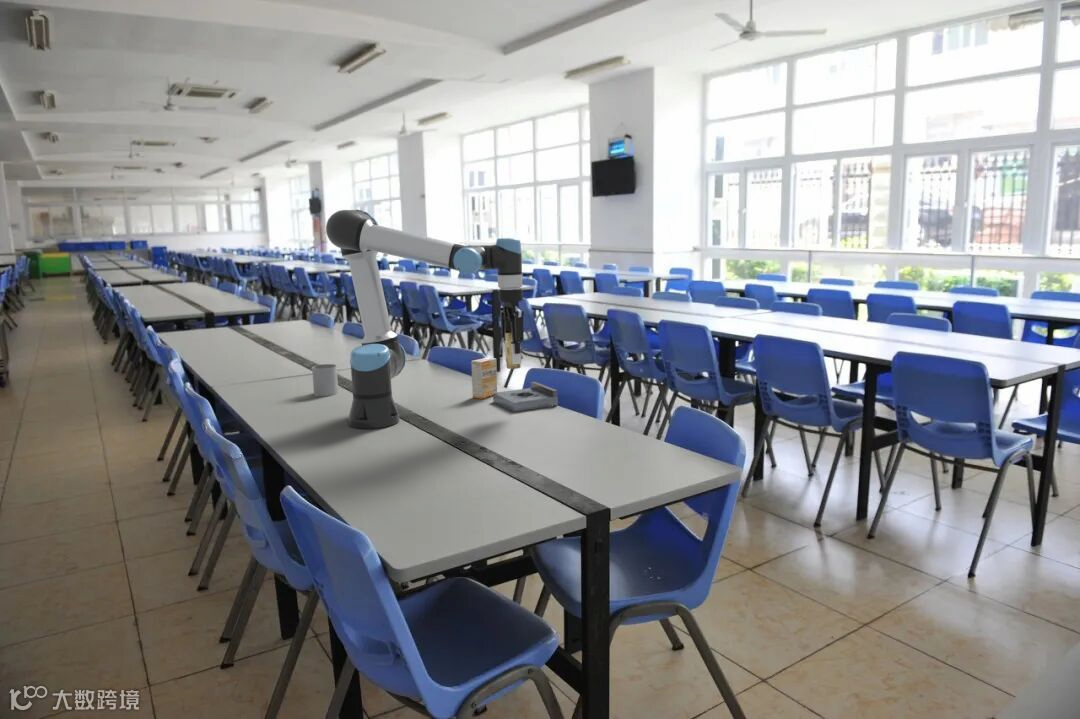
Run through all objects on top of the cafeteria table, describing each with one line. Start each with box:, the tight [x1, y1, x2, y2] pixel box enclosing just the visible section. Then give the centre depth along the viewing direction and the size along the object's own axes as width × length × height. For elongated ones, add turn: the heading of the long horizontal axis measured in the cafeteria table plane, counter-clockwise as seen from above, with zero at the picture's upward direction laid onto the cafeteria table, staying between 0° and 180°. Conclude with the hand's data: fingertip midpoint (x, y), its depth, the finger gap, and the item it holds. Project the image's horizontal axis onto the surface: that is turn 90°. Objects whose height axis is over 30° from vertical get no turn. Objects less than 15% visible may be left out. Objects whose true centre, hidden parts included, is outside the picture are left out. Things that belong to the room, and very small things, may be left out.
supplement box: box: [471, 357, 498, 400], centre depth 260 cm, size 8×5×13 cm, turn 143°
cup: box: [311, 363, 339, 397], centre depth 269 cm, size 8×8×10 cm
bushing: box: [505, 332, 522, 370], centre depth 235 cm, size 4×4×11 cm
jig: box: [492, 381, 559, 413], centre depth 249 cm, size 16×16×5 cm
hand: (513, 362), depth 236 cm, fingers closed on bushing, 4 cm apart
